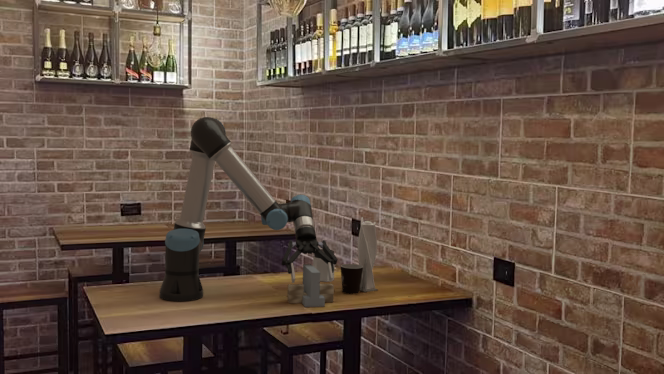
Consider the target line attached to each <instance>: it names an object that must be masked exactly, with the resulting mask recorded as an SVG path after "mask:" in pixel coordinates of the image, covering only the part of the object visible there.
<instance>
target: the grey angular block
mask: <svg viewBox="0 0 664 374" xmlns="http://www.w3.org/2000/svg"><path fill="white" fill-rule="evenodd" d="M302 266H303V267H302V285H303V286H304V291H303V292H306V293H307V295H308V296H303V303H302V305H303V307H304V308H310V307H311V308H316V307H317V308H321V307H324V308H325V306H326V305H325V304H326V302H325V297H324V296H323V295H319V294H320V284H321V281H320V272H319V271H318V270H317V269H316V268H315V267H314V266H313V264H312V263H311V264H310V263H308V264H305V263H304V264H302Z"/></svg>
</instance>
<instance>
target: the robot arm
mask: <svg viewBox="0 0 664 374" xmlns="http://www.w3.org/2000/svg"><path fill="white" fill-rule="evenodd" d="M190 138H191V140H190V145H189V146H190V147H189V152H190V153H191V155H192V157H191V162H190V167H189V172H188V176H187V182H186V187H185V191H184V196H183V201H182V202H183V203H182V205H181V211H180V216H179V218H178V219H176V220H175V221H174V226H173V229H171V230H170V231H167V232H166V234H165V240H164V244H165V253H164V254H165V257H164V258H165V261H164V268H165V269H164V277H163V280H162V283H161V286H160V289H159V298H160V299H162V300H165V301H169V302H170V301H171V302H189V301H195V300H198V299H199V300H200V299H201V298H203V296H204V289H203V284H202V281H201V278H200V275H199V274H200V272H199V267H200V263H199V262H200V254H201V252H202V250H203V248H204V245H205V242H204V238H205V234H206V228H207V227H206V225H205V224H204V218H205V213H206V208H207V203H208V199H209V193H210V188H211V185H212V178H213V174H214V169H215V164H217V165H218V166H219V167H220V169H221V170H222V171H223V172H224V174H226V176H227V177H228V178H229V179H230V181H232V183H233V184H234V185H235V186H236V188H237V189H238V190H239V191H240V192H241V194H242V195H243V196H244V197H245V198H246V200H247V201H248V202H249V203H250V204H251V205H252V206H253V208H254V209H255V210H256V211H257V212H258V214H259V215H260V217H261V218H260V219H261V224H262V226H268V227H269V228H270V229H271V230H274V231H280V230H282V229H284V228H285V227H286V225H287V224H288V223H293V225H294V226H293V228H294V235H295V241H293V240H291V239H290V240H288V244H287V250H286V251H285V252H284V253H285V254H284V256H283V258H282V260H281V266H285V267H286V270H287V274H290V277H291V283H292V284H295V280H296V273H295V266H294V262H295V261H296V259H298V257H299V256H300V255H301V254H304V255H306V254H309V255H312V254H313V255H314V254H315V255H317V256H318V257H320V258H321V259H322V260H323V261H324V262H325V263H327V264H328V265H327V270H328V276H329V283H332V282H333V281H334V280H333V274H332V273H333V272H334V273H335V267H334V265H337V263H338V261H339V260H338V258H337V256H336V255H335V253H334V254H333V253H332V251H331V250H332V249H330V247H329V245H327V242H326V240H322V241H318V240H317V234H316V228H315V227H316V226H315V222H314V217H313V216H314V215H313V209H312V205H311V200H310V198H309V197H308V196H307V195H305V194H296V196H292V198H291V199H290V201H289V202H284V203H278V202H277V201H276V199H275V198H274V197H273V195H272V194H271V193H270V192H269V191H268V190H267V188H266V187H265V186H264V185H263V183H262V182H261V181H260V180H259V178H258V177H257V176H256V175H255V174H254V172H252V170H251V169H250V168H249V166H248V165H247V164H246V163H245V162H244V161H243V159H242V158H241V157H240V156H239V154H238V153H237V152H236V150H235V149H234V148H233V147H232V141H231V140H230V138H228V137H227V134H226V128H225V126H224V124H223V123H222V122H221V121H220V120H219V119H218V118H215V117H209V116H204V117H201V118H198V119H197V120H195V122H194V123H193V124H192V125H191V129H190ZM294 247H296V248H297V250H295V252H294V253H293V254H292V255H291V257H290V254H291V252H292V249H293V248H294ZM320 249H323V251H324V252H325V253H324V252H322V251H321V250H320ZM288 258H289V259H288ZM332 280H333V281H332Z"/></svg>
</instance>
